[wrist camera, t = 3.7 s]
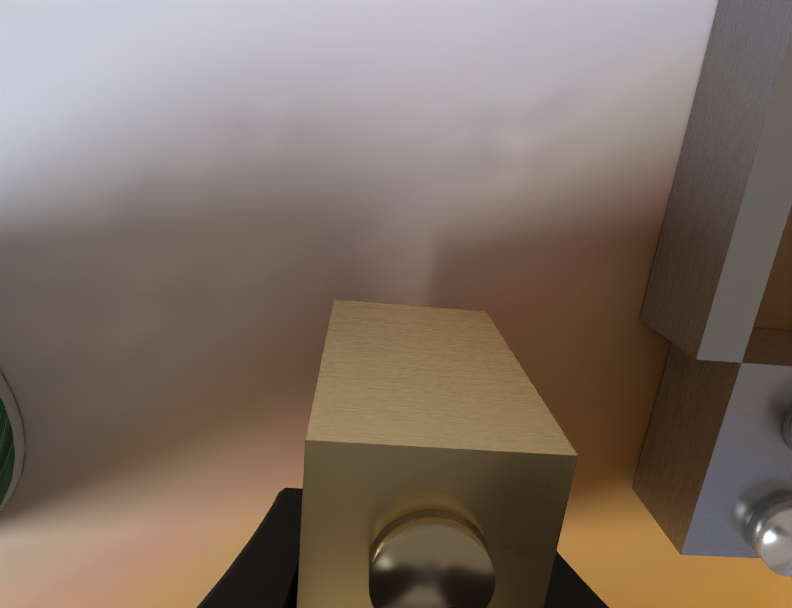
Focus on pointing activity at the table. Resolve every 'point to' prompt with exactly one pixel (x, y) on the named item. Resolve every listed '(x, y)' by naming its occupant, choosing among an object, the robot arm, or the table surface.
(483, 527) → the link
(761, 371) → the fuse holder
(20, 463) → the canned tomato
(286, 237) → the table surface
